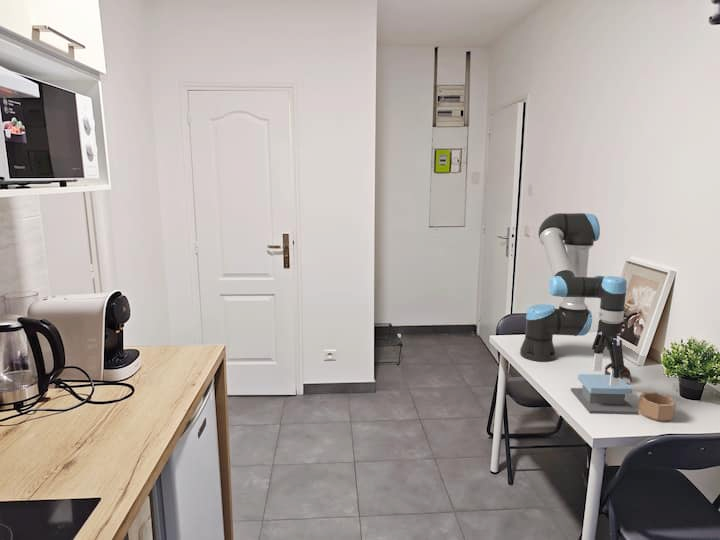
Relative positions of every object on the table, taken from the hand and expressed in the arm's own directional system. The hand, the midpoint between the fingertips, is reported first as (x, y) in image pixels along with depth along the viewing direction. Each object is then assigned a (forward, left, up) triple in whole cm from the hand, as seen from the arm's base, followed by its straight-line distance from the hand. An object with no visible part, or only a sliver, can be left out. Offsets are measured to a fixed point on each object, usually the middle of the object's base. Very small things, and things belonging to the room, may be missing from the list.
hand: (605, 377), depth 173 cm
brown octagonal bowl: (+9, +14, -10) cm, 19 cm away
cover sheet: (0, 0, -4) cm, 4 cm away
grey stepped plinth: (0, 0, -10) cm, 10 cm away
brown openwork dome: (-21, +15, -10) cm, 27 cm away
